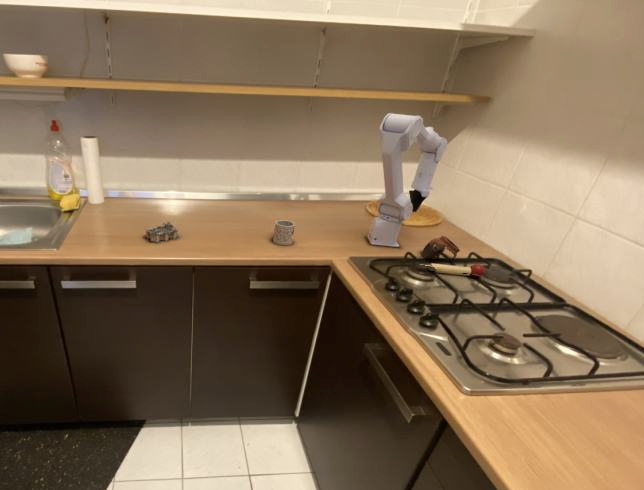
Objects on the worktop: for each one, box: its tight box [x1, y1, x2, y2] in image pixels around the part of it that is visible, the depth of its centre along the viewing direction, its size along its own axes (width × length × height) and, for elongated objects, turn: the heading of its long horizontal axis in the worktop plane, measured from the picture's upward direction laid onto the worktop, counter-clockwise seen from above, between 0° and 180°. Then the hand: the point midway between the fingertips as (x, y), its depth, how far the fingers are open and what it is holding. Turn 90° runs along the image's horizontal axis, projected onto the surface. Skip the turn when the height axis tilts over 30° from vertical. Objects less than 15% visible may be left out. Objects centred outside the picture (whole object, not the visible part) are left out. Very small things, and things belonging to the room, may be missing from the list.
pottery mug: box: [421, 235, 461, 259], centre depth 125 cm, size 12×10×8 cm
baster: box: [419, 262, 486, 278], centre depth 116 cm, size 18×4×4 cm, turn 79°
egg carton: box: [144, 221, 180, 243], centre depth 133 cm, size 11×8×4 cm
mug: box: [272, 219, 296, 246], centre depth 135 cm, size 10×7×7 cm, turn 9°
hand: (412, 211), depth 140 cm, fingers closed
